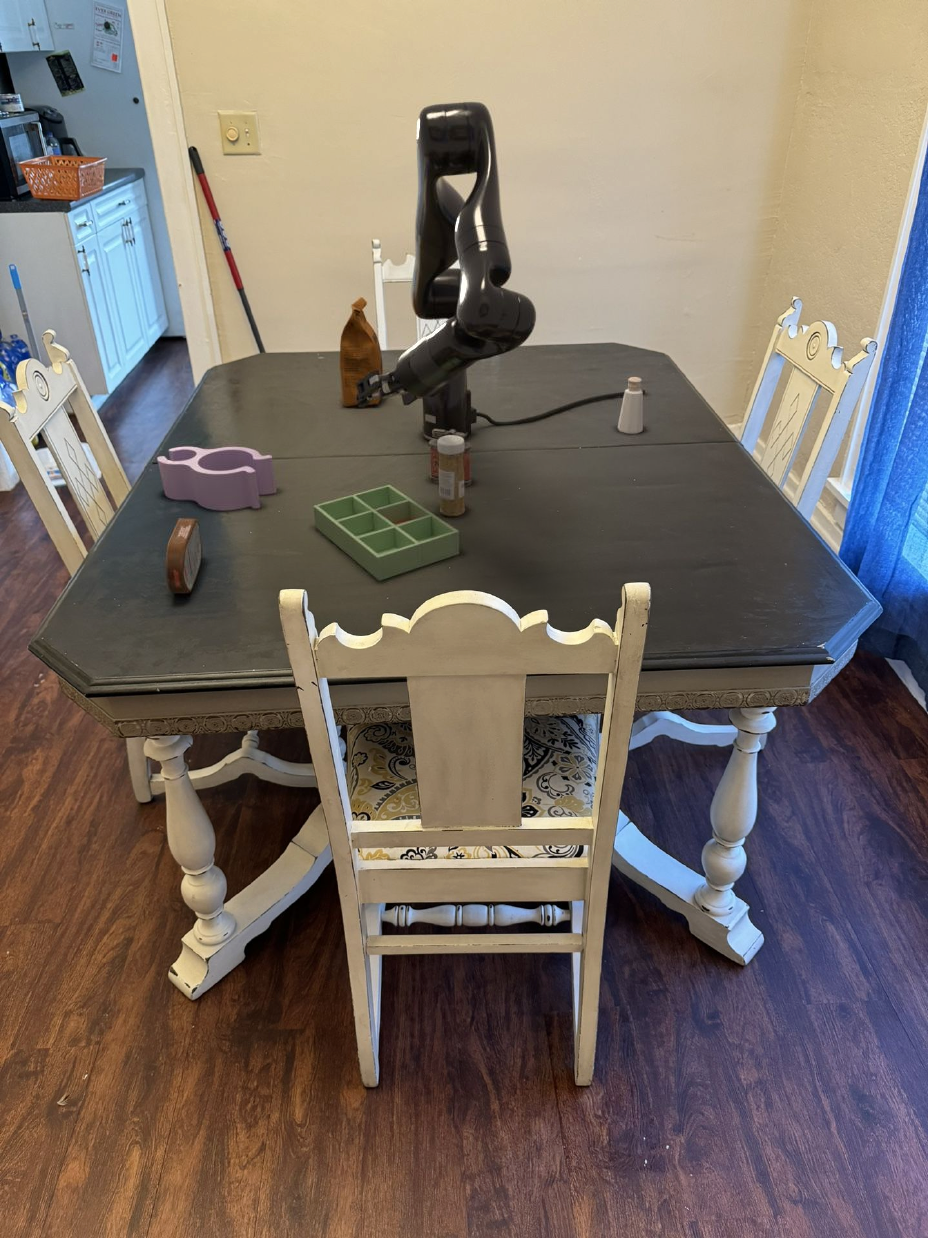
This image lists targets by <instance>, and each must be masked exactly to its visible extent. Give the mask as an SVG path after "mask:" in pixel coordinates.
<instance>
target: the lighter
mask: <svg viewBox="0 0 928 1238" xmlns="http://www.w3.org/2000/svg"><path fill="white" fill-rule="evenodd" d="M448 435H455V436H460V437H462V438H463V439H464V440H465V439H466V438H465V434H464V433H459V432H456V430H454V429H451V430H450V431H446V430H440V429H434V430H433V431H432V436H433V437H437V438H441V437H443V436H448ZM428 441H429V440H428ZM437 441H438V439H434V440H431V441H429V442H428V447H429V455H430V457H429V458H430V459H429V461H430V474H429V480H430V482H432V483H436V484H439V453H438V452H439V451H438V448H437ZM464 445H465V449H464V453H463V461H464V462H463V466H464V487H467V486H470V485H471V484H472V477H471V451H472V444H471V443H469V442H465V441H464Z"/></svg>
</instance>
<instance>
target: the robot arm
mask: <svg viewBox="0 0 928 1238" xmlns="http://www.w3.org/2000/svg"><path fill="white" fill-rule="evenodd" d="M415 138H416V141H415V142H416V144H415V145H416V166H417V167H416V168H417V198H416V208H415V209H416V210H415V223H414V224H415V225H414V247H415V248H414V251H415V255H414V257H415V258H414V266H413V272H412V278H411V287H410V300H411V307H412V310H413V312H414V314H415V316H416V317H417V318H419V319H420V320H426V321H427V320H428V321H433V320H435V321H436V320H446V321H444V322H443V323H442V324H440V325H439V326H438V327H437V328H436V329H434V330H433V331H431V332H428V333H426V334H425V335H423V336H422V337H421V338H420V339H419V340H418V341H416V342H415V343H414V344H412V345H411V346H410V347H409V348H408V349H407V350H405V351H404V352H403V353H402V354H401V355H400V356H399V358H398V360H397V362H396V363H397V364H396V367H395V368H392V370H391V371H389V372H386V373H383V375H380V373H379V370H374V371H372V372H371V373H369V374H368V375H367V376H365V377H364V378H363V379H361V380H360V381H359V382H357V383H356V387H357V391H358V394H357V395H356V400H357V405H356V406H358V407H359V408H365V407H367V406H368V405H367V404H369V403H370V402H371V401H373V400H374V399H377V398H380V397H381V398H382V399H384V400H387V399H390V398H393V397H396V396H398V395H399V396H401V400H402V404H403V406H410V405H412V404H413V403H414V402H415V401H417V400H422V424H423V426H422V429H423V430H422V436H423V438H424V439H425V440H427V441H431V440H434V439H439V438H437V437H433V436H432V431H433V430H434V429H440V430H446V431H450V430H451V429H454V430H456V432H459V433H464V434H465V439H466V438H468V436H471V435H472V424H476V423H477V421H478V419H477V417H480V418H483V419H485V420H487V422H488V423H490V424H491V425H493V426H498V427H500V426H501V427H502V426H514V425H519V424H524V423H528V422H532V421H537V420H540V419H543V418H546V417H548V416H551V415H553V414H556V413H560V412H562V411H565V410H567V409H570V408H573V407H576V406H580V405H583V404H586V403H590V402H595V401H599V400H603V399H610V398H615V397H616V398H617V397H624V393H625V391H619V392H613V393H607V394H601V395H596V396H592V397H588V398H584V399H580V400H576V401H574V402H571V403H567V404H565V405H562V406H559V407H557V408H554V409H551V410H548V411H545V412H544V413H540V414H538V415H533V416H528V417H525V418H524V417H523V418H521V419H516V420H512V421H496V420H494V419H492V418H491V417H490V416H489V415H488V414H486V413H483V412H479V411H477V408H475V407H472V391H471V390H470V389H468V368H470V367H471V366H473V365H474V364H475V363H477V362H478V361H483V360H487V359H491V358H493V357H497V356H500V355H504V354H506V353H510V352H511V351H513V350H515V349H518V348H519V347H521V346H522V345H523V344H524V343H525V342H526V341H527V340H528V339H529V337H530V336H531V335H532V333H533V331H534V329H535V326H536V323H537V322H536V321H537V309H536V307H535V305H534V303H533V301H532V300H531V299H530V298H529V297H528V296H526V295H525V294H522V293H520V292H518V291H514V290H511V289H507V288H505V287H503V286H504V285H505V284H507V282H509V279H510V278H511V275H512V271H513V263H512V257H511V253H510V249H509V244H508V240H507V236H506V231H505V227H504V221H503V215H502V204H501V203H502V202H501V188H500V177H499V176H500V175H499V164H498V155H497V154H498V153H497V145H496V144H497V143H496V136H495V129H494V123H493V119H492V116H491V113H490V110H489V109H488V107H487V106H486V104H484V103H482V102H479V101H478V102H477V101H463V102H451V103H450V102H449V103H437V104H431V105H428V106H425V107H423V108H422V109H421V111H420V112H419V114H418V117H417V122H416V132H415ZM473 174H476V175H475V176H476V177H475V180H474V183H473V186H472V189H471V190H470V193H469V195H468V196H467V197H466V199H464V197H463V195H462V194H461V193H460V192H459V191H458V190H457V189H456V188H455V187H454V186H453V185H452V184H451V183H450V182H449V181H448V180H447V179H446V178H445V177H452V176H463V175H473ZM457 262H458V263H459V267H452V266H453V265H455V264H456V263H457ZM385 384H387V387H388V389H389V391H388V392H387V390H386V386H385ZM377 390H379V392H378V393H375V394H374V392H376V391H377ZM641 390H642V392H643V395H644V394H646V390H645V389H641ZM381 398H380V399H381Z"/></svg>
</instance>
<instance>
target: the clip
mask: <svg viewBox="0 0 928 1238" xmlns="http://www.w3.org/2000/svg"><path fill="white" fill-rule="evenodd" d="M168 454H169V455H168V456H169V459H170V460H169V459H168V458H166V456H164V455H160V456H157V457H156V461H157V464H158V468H159V473H160V478H161V482H162V488H163V491H164V495H165V497H166V498H169V499H171V500H177V501H194V502H196V503H197V504H198V505H199V506H200V507H203V508H205V509H208V510H212V511H234V510H235V511H236V510H241V509H244V508H245V509H246V508H249V507H250V508H252V509H254V510H256V509H260V508H261V502H260V496H266V495H272V494H276V493H277V486H276V484H277V483H276V479H275V477H276V476H275V471H274V463H273V457H272V455H271V454H266V455H261V453H260V452H259V451H257V450H255V449H252V448H249V447H244V446H224V447H217V448H210V449H208V448H207V449H206V448H201V447H196V446H176V447H172V448H169V449H168Z"/></svg>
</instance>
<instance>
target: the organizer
mask: <svg viewBox="0 0 928 1238" xmlns="http://www.w3.org/2000/svg"><path fill="white" fill-rule="evenodd" d="M312 507H313V516H314V523H315V524H314V525H315V528H316V529H317V530H318V531H319V532H320V533H322V535H324V536H325V537H326V538H327V539H329V540H330V541H331V542H332V543H334V545H336V546H337V547H338V548H339V549H341V550H342V551H343V552H344V553H346V554H347V556H349V557H350V558H352V559H353V560H354V561H355V562H356V563H357V564H359V566H361V568H363V569H364V570H366V571H367V572H368V573H370V574H371V575H372V576H373V578H375V579H376V580H377V581H383V580H386V579H388V578H391V577H395V576H398V575H402V574H404V573H407V572H409V571H413V570H416V569H418V568H422V567H425V566H428V565H430V564H433V563H437V562H439V561H442V560H446V559H449V558H451V557H454V556H458V555H459V554H460V531H459V530H457V529H456V528H454V527H453V526H451V524H449V523H447V522H445V521H444V520H443V519H441V518H440V517H438V516H437V515H435V514H434V513H432V512H431V511H429V510H428V509H426V508H425V507H423V506H422V505H420V504H419V503H417V502H416V501H414V500H413V499H411V498H410V497H409V496H407V495H406V494H404V493H402V492H401V491H400V490H398V489H397V488H395V487H394V486H392V485H390V484H387V485H382V486H379V487H376V488H373V489H369V490H365V491H362V492H358V493H355V494H351V495H347V496H344V497H340V498H336V499H333V500H332V499H331V500H329V501H325V502H321V503H319V504H315V505H313V506H312Z"/></svg>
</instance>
